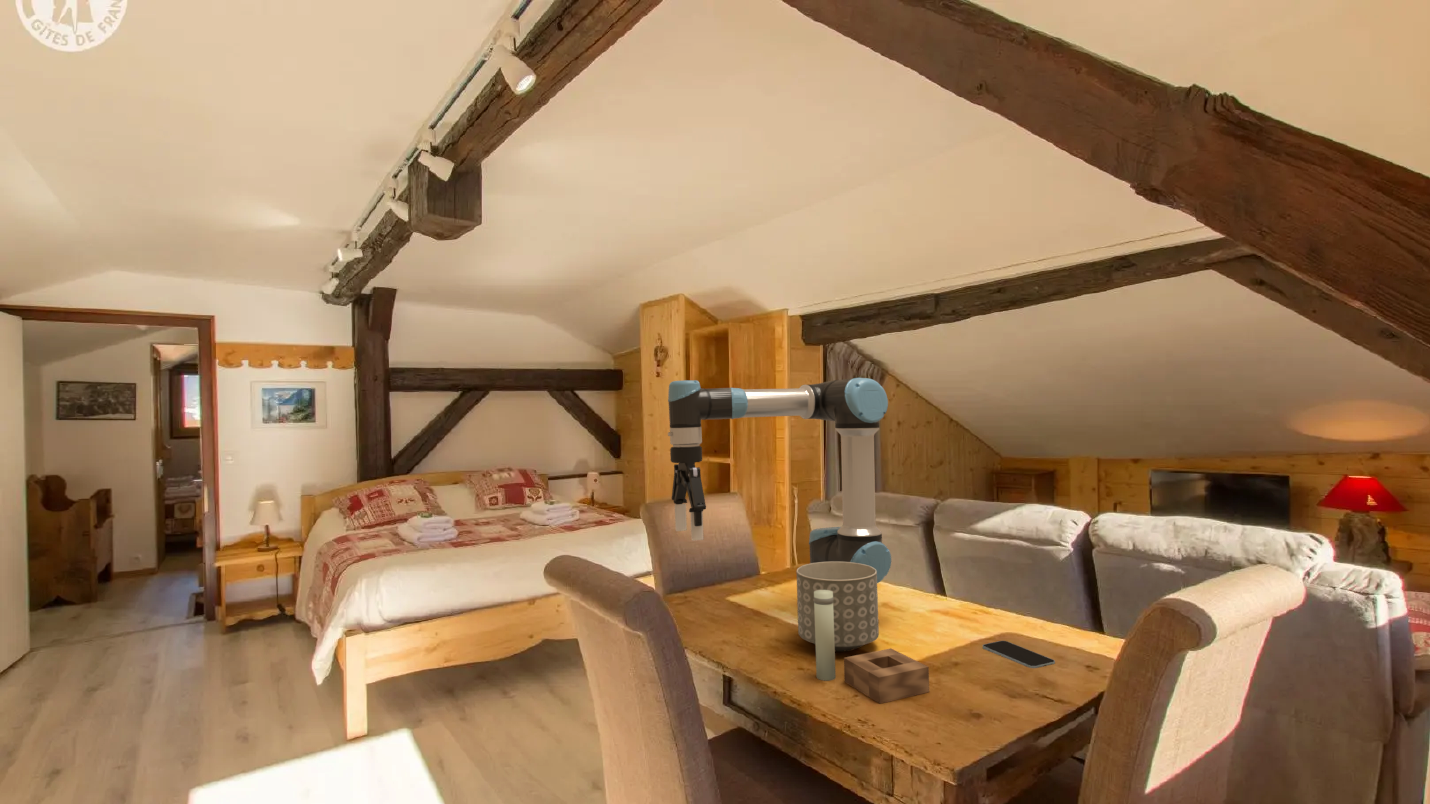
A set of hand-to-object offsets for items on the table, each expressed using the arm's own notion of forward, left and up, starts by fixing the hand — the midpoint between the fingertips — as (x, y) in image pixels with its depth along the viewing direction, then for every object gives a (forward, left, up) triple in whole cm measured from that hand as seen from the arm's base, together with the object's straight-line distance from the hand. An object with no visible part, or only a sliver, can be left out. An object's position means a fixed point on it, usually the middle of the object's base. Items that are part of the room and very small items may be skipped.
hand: (688, 535), depth 164 cm
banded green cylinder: (-20, +27, -28) cm, 44 cm away
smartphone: (-65, +36, -29) cm, 80 cm away
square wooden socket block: (-28, +37, -28) cm, 54 cm away
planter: (-33, +12, -28) cm, 45 cm away
